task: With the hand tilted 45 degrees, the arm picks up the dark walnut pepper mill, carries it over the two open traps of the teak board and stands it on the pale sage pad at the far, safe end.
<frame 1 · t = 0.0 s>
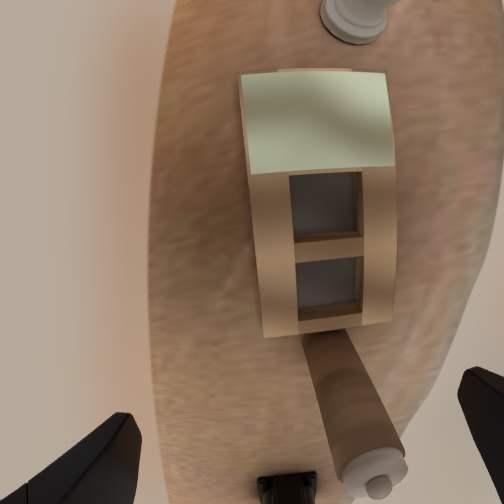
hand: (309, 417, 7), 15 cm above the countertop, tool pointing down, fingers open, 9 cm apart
rook chess piece: (349, 20, 17), on the countertop
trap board: (321, 201, 20), on the countertop
pepper mill: (324, 339, 23), on the countertop
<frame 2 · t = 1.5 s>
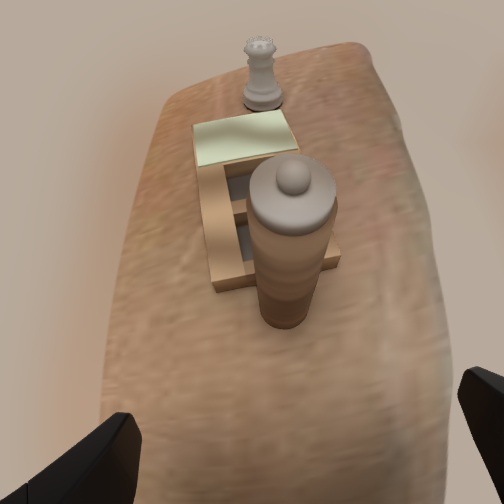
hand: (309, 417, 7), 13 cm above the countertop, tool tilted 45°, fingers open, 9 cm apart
rook chess piece: (263, 103, 33), on the countertop
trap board: (255, 192, 27), on the countertop
pepper mill: (284, 305, 22), on the countertop
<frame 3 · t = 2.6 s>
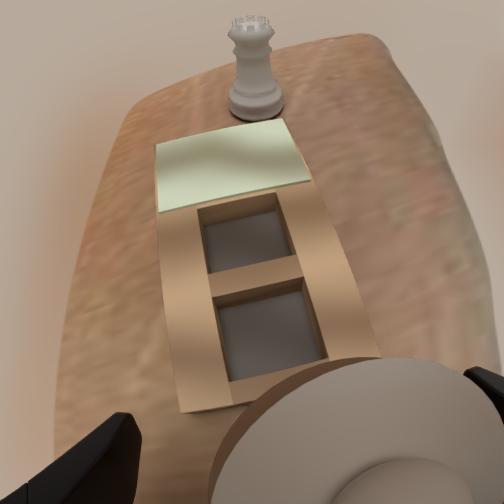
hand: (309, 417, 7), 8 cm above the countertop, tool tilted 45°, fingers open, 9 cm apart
rook chess piece: (256, 109, 25), on the countertop
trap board: (246, 248, 18), on the countertop
pepper mill: (293, 434, 13), on the countertop
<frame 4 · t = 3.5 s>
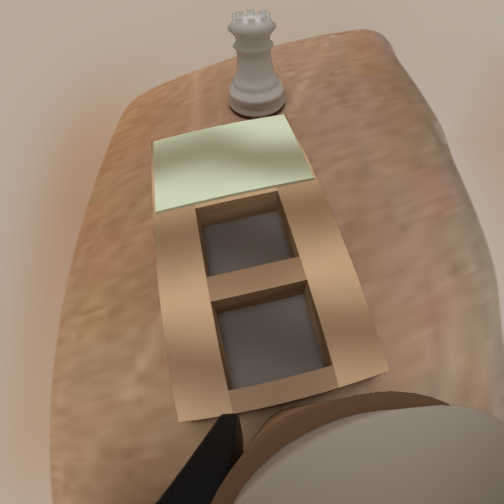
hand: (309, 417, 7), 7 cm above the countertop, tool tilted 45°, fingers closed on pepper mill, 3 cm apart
rook chess piece: (257, 105, 24), on the countertop
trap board: (247, 249, 17), on the countertop
pepper mill: (295, 442, 13), on the countertop, touching gripper
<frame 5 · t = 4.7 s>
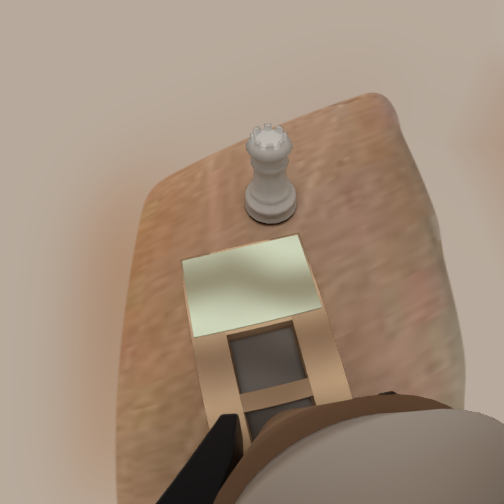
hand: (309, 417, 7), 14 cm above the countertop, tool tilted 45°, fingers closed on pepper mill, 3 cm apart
rook chess piece: (270, 206, 28), on the countertop
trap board: (267, 361, 21), on the countertop
pepper mill: (295, 443, 13), point 7 cm above the countertop, touching gripper
when the fingers open (10 cm above the countertop, at t = 6.1 s): pepper mill drops 1 cm, resting on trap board.
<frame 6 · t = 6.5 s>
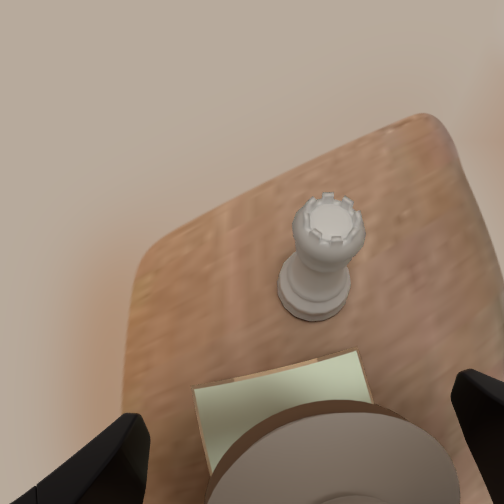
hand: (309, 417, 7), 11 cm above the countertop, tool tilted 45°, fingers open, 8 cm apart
rook chess piece: (312, 290, 20), on the countertop
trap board: (307, 501, 14), on the countertop
pepper mill: (293, 442, 14), point 2 cm above the countertop, touching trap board
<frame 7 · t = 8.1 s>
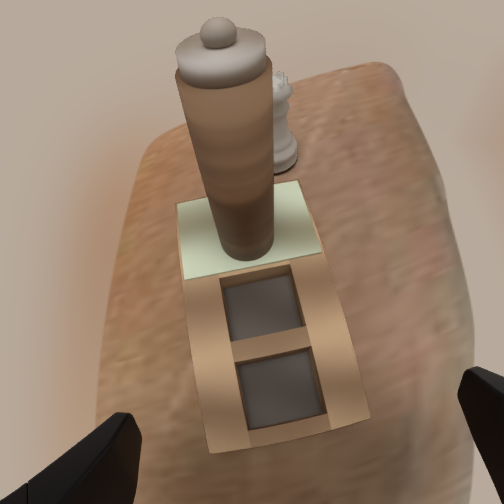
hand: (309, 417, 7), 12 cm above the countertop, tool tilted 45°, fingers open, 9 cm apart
rook chess piece: (271, 158, 27), on the countertop
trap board: (262, 310, 20), on the countertop
pepper mill: (246, 237, 20), point 2 cm above the countertop, touching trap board
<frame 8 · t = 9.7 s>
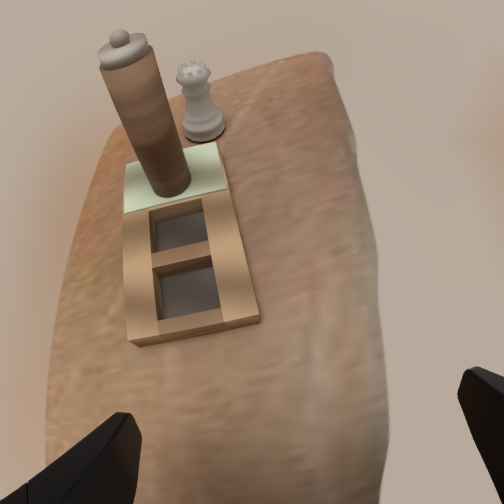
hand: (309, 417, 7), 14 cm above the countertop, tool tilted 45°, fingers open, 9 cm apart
rook chess piece: (205, 131, 32), on the countertop
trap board: (182, 237, 26), on the countertop
pepper mill: (171, 181, 26), point 2 cm above the countertop, touching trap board
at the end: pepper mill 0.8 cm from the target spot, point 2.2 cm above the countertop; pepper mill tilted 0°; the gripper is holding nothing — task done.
